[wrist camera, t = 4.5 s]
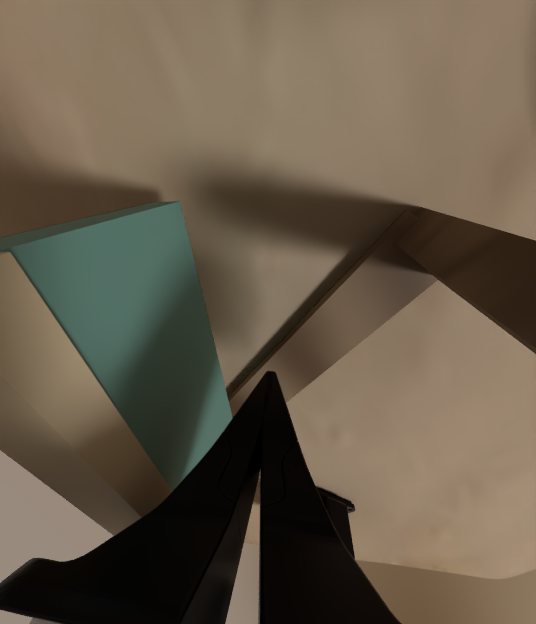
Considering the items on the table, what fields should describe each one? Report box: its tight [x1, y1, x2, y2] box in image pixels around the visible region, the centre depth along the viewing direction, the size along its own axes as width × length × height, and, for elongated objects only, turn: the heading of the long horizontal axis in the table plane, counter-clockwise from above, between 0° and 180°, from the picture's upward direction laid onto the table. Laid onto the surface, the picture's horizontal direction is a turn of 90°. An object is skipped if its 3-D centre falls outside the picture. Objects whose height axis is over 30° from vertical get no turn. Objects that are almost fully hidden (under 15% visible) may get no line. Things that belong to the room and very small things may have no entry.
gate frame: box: [228, 207, 536, 417], centre depth 10 cm, size 19×3×9 cm, turn 146°
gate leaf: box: [0, 201, 233, 536], centre depth 9 cm, size 15×2×7 cm, turn 4°
